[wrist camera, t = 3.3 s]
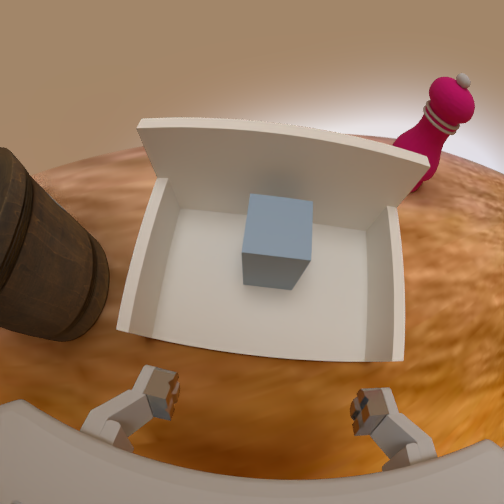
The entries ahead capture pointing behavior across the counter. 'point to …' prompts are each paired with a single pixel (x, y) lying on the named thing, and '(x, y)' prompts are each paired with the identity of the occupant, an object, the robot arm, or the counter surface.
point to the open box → (232, 233)
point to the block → (276, 241)
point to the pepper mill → (439, 120)
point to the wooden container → (45, 261)
